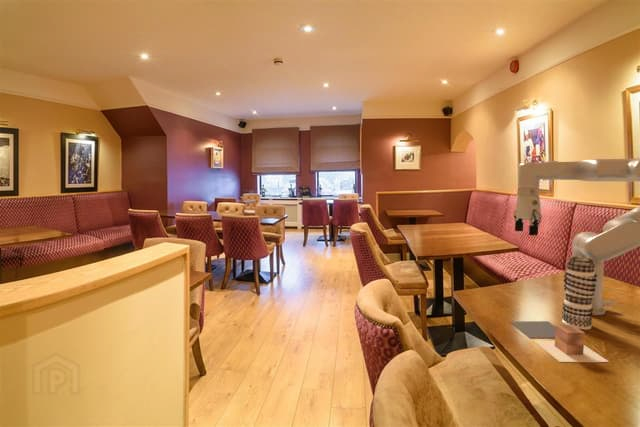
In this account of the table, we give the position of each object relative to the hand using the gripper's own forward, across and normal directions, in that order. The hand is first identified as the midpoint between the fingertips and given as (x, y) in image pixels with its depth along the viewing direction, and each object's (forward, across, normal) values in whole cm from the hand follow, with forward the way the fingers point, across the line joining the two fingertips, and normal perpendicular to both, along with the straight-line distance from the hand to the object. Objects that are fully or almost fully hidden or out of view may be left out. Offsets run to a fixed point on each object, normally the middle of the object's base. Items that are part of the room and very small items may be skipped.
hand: (525, 232), depth 133 cm
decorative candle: (+31, -21, -7) cm, 38 cm away
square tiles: (+30, -32, +9) cm, 45 cm away
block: (+30, -39, +9) cm, 50 cm away
